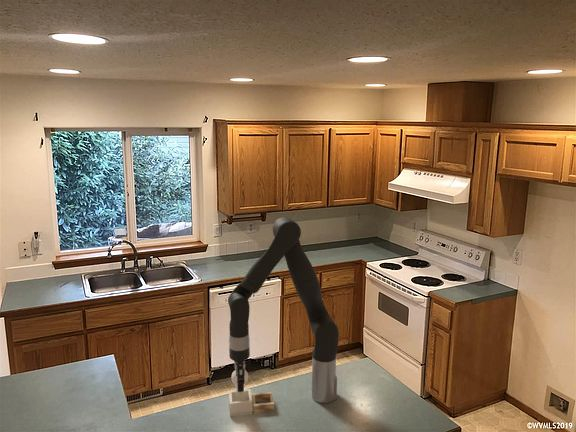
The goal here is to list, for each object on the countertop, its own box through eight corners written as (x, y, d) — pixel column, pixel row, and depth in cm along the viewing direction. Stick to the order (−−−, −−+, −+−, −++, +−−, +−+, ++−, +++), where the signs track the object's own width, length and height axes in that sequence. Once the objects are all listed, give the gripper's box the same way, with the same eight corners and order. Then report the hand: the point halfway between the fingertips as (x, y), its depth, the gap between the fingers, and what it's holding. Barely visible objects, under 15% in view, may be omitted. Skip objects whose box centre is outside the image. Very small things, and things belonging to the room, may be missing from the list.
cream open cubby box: (250, 400, 179) (250, 388, 178) (252, 413, 171) (252, 401, 170) (229, 402, 178) (228, 390, 177) (230, 415, 170) (229, 403, 169)
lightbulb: (245, 401, 170) (245, 374, 168) (229, 399, 171) (228, 373, 169) (250, 392, 176) (250, 366, 174) (234, 390, 177) (234, 364, 175)
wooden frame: (271, 398, 180) (271, 391, 180) (274, 410, 173) (274, 403, 172) (251, 400, 179) (251, 393, 179) (253, 413, 171) (253, 405, 171)
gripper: (251, 353, 163) (251, 396, 166) (247, 335, 177) (248, 375, 180) (230, 355, 162) (231, 398, 165) (228, 337, 176) (229, 377, 179)
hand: (240, 386), depth 173 cm, fingers closed on lightbulb, 6 cm apart
